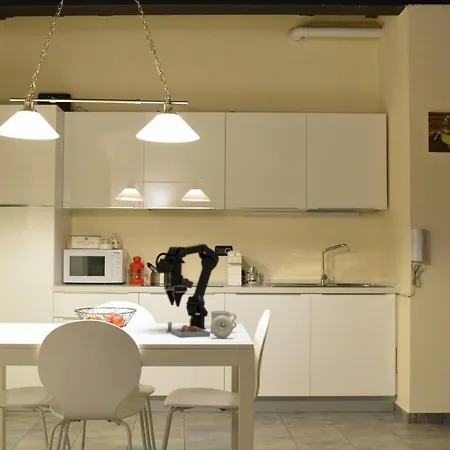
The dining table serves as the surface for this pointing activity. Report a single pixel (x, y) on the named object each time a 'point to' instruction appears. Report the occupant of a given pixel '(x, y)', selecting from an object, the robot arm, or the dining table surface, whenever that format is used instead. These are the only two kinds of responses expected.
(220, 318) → the grey wheel
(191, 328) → the ring
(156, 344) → the dining table surface
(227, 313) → the mug
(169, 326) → the metal knob
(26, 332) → the dining table surface
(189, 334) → the tray
